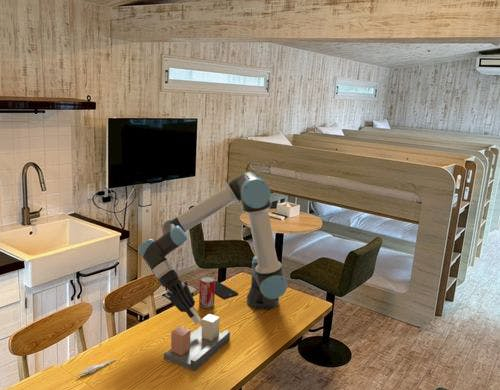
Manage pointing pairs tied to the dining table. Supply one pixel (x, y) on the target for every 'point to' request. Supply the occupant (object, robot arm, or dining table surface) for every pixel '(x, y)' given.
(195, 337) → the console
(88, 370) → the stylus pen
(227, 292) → the cell phone
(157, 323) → the dining table surface
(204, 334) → the key cream
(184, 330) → the reddish pink block
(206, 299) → the soda can
